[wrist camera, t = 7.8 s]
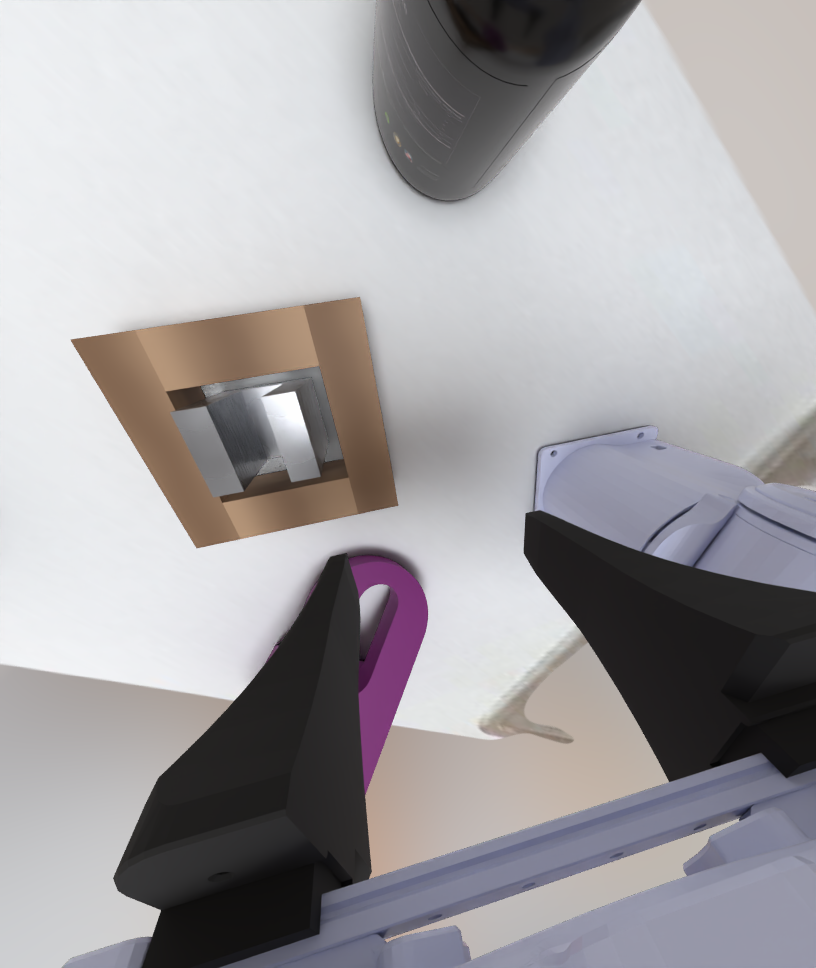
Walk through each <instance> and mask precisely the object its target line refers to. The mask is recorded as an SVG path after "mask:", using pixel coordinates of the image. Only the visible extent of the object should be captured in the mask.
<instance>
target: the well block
mask: <svg viewBox="0 0 816 968" xmlns="http://www.w3.org/2000/svg"><path fill="white" fill-rule="evenodd" d="M71 342H72V343H73V345H74V347H75V348H76V350H77V352H78V353H79V355H80V356H81V358H82V360H83V361H84V363H85V365H86V366H87V368H88V370H89V371H90V373H91V375H92V376H93V378H94V380H95V381H96V383H97V385H98V386H99V388H100V389H101V391H102V393H103V394H104V396H105V398H106V399H107V401H108V403H109V404H110V406H111V408H112V409H113V411H114V413H115V414H116V416H117V418H118V419H119V421H120V423H121V424H122V426H123V427H124V429H125V431H126V432H127V434H128V436H129V437H130V439H131V441H132V442H133V444H134V446H135V447H136V449H137V451H138V452H139V454H140V456H141V457H142V459H143V460H144V462H145V464H146V465H147V467H148V469H149V470H150V472H151V474H152V475H153V477H154V479H155V480H156V482H157V484H158V485H159V487H160V489H161V490H162V492H163V493H164V495H165V497H166V498H167V500H168V502H169V503H170V505H171V507H172V508H173V510H174V512H175V513H176V515H177V517H178V518H179V520H180V522H181V523H182V525H183V526H184V528H185V530H186V531H187V533H188V535H189V536H190V538H191V540H192V541H193V543H194V545H195V546H196V548H201V547H205V546H210V545H215V544H219V543H224V542H229V541H234V540H238V539H243V538H248V537H252V536H257V535H262V534H266V533H271V532H276V531H281V530H285V529H290V528H295V527H299V526H304V525H309V524H314V523H318V522H323V521H328V520H332V519H337V518H342V517H347V516H351V515H356V514H361V513H365V512H370V511H375V510H380V509H384V508H389V507H394V506H398V501H397V495H396V490H395V484H394V479H393V474H392V468H391V463H390V457H389V452H388V447H387V441H386V436H385V430H384V425H383V419H382V414H381V409H380V403H379V398H378V392H377V387H376V381H375V376H374V371H373V365H372V360H371V354H370V349H369V344H368V338H367V333H366V327H365V322H364V316H363V311H362V306H361V300H360V297H357V298H350V299H343V300H336V301H330V302H323V303H316V304H309V305H303V306H296V307H289V308H282V309H275V310H269V311H262V312H255V313H248V314H242V315H235V316H228V317H221V318H214V319H208V320H201V321H194V322H187V323H181V324H174V325H167V326H160V327H153V328H147V329H140V330H133V331H126V332H120V333H113V334H106V335H99V336H92V337H86V338H79V339H72V340H71ZM316 366H320V370H321V374H322V378H323V382H324V385H325V389H326V393H327V397H328V401H329V404H330V408H331V412H332V416H333V420H334V423H335V427H336V431H337V435H338V439H339V442H340V446H341V450H342V454H343V458H344V459H341V460H335V461H330V462H325V463H324V466H323V470H322V474H321V477H317V478H312V479H306V480H301V481H296V482H291V480H290V477H289V474H288V471H287V470H284V471H279V472H274V473H269V474H264V475H258V476H255V477H254V479H253V480H252V481H251V483H250V484H249V485H248V487H247V488H246V490H245V491H244V492H239V493H234V494H229V495H223V496H218V497H213V496H212V494H211V492H210V490H209V488H208V486H207V484H206V482H205V480H204V478H203V476H202V474H201V472H200V470H199V468H198V467H197V465H196V463H195V461H194V459H193V457H192V455H191V453H190V451H189V449H188V447H187V445H186V443H185V441H184V439H183V437H182V435H181V433H180V431H179V429H178V427H177V425H176V424H175V422H174V420H173V418H172V416H171V414H170V412H172V411H175V410H177V409H180V408H182V407H185V406H187V405H190V404H193V403H195V402H198V401H200V400H203V399H205V396H204V394H203V391H202V389H201V387H200V386H202V385H208V384H214V383H220V382H226V381H232V380H238V379H244V378H250V377H256V376H262V375H268V374H274V373H280V372H286V371H292V370H298V369H304V368H310V367H316Z"/></svg>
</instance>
